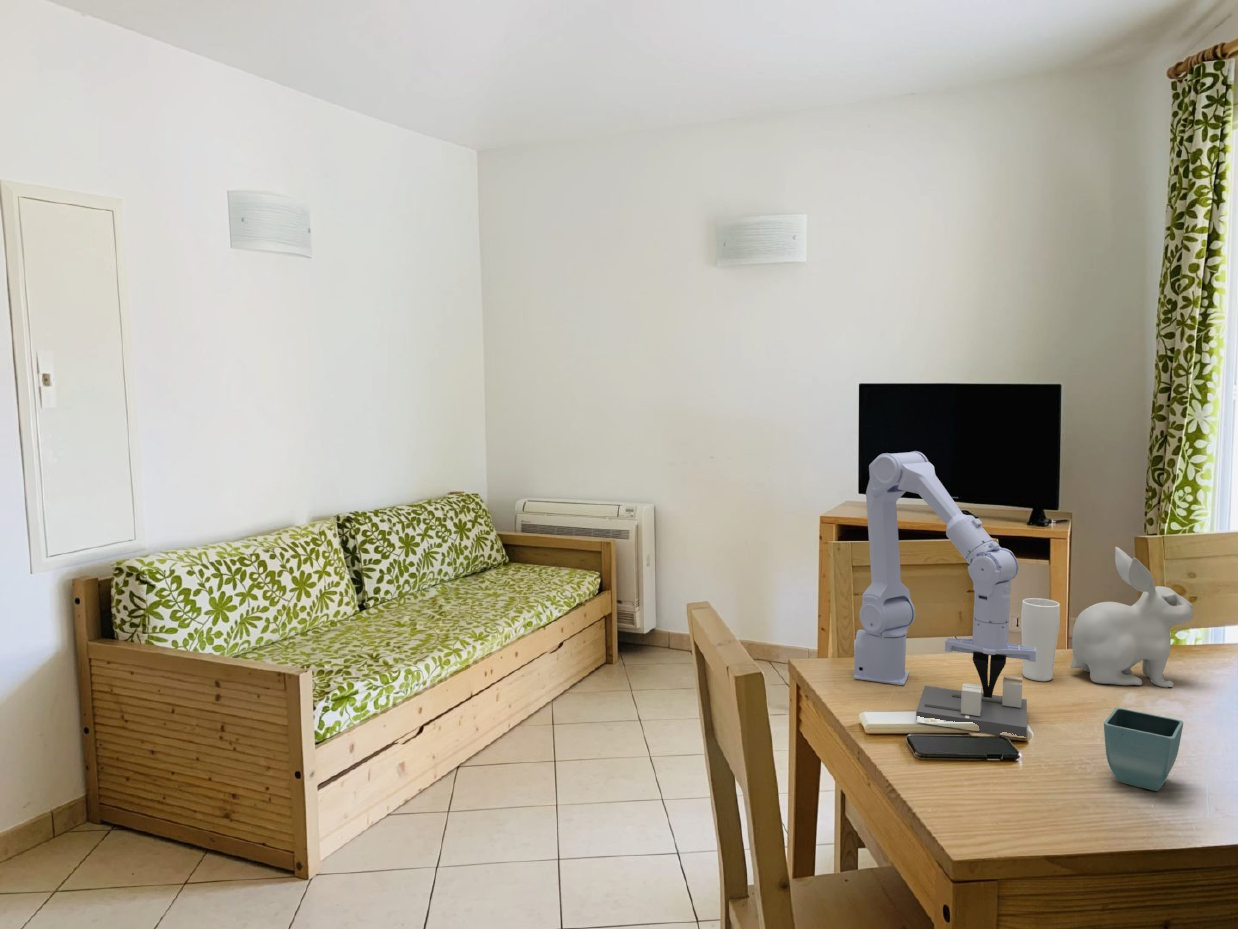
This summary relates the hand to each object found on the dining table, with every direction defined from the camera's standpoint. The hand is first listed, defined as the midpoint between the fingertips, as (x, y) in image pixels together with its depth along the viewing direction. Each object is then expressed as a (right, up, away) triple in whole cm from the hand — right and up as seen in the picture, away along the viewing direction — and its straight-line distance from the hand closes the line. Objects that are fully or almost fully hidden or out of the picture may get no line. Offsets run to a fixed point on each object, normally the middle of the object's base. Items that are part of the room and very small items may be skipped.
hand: (987, 695), depth 157 cm
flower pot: (+11, -6, -27) cm, 30 cm away
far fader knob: (+4, -1, -2) cm, 4 cm away
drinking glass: (+17, -1, +18) cm, 25 cm away
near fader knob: (-5, -1, -5) cm, 7 cm away
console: (-3, -3, -2) cm, 5 cm away
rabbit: (+34, -2, +17) cm, 38 cm away
